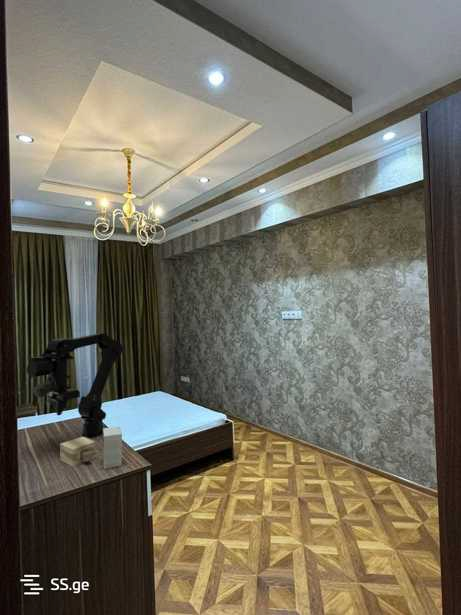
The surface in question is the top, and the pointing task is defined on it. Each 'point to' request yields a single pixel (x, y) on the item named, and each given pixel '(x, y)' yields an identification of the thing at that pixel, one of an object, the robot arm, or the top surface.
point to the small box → (112, 447)
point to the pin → (86, 455)
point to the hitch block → (76, 450)
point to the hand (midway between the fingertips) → (59, 415)
